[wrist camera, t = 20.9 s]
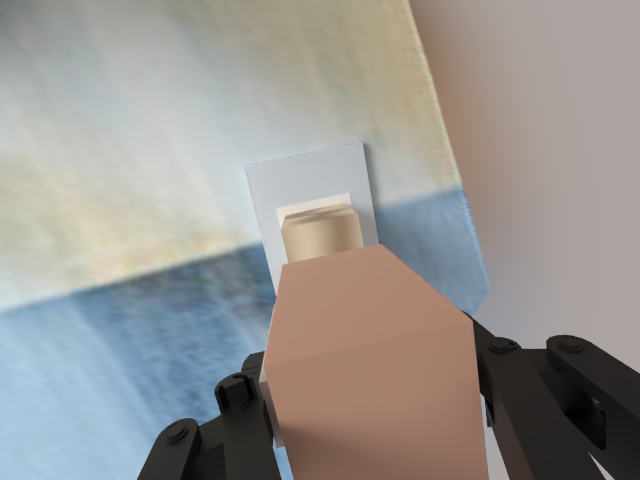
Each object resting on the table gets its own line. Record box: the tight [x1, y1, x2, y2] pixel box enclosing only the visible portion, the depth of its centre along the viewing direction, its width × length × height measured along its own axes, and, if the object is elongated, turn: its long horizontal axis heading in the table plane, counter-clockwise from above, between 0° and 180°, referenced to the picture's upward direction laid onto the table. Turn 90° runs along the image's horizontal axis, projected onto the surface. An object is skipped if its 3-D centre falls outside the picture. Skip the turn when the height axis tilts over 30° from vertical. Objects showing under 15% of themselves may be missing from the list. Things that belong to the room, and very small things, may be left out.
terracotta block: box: [263, 244, 489, 480], centre depth 14 cm, size 6×6×10 cm
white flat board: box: [244, 142, 379, 297], centre depth 39 cm, size 14×20×1 cm
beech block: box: [281, 203, 364, 263], centre depth 33 cm, size 7×7×10 cm
